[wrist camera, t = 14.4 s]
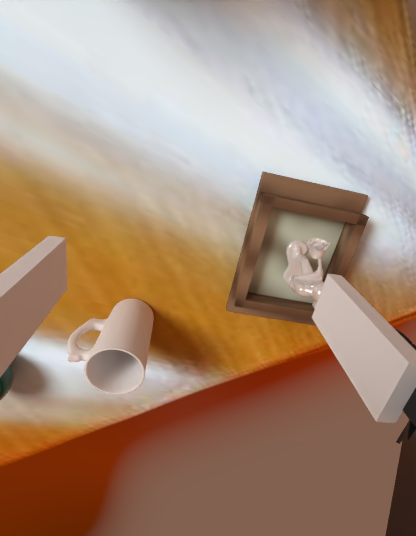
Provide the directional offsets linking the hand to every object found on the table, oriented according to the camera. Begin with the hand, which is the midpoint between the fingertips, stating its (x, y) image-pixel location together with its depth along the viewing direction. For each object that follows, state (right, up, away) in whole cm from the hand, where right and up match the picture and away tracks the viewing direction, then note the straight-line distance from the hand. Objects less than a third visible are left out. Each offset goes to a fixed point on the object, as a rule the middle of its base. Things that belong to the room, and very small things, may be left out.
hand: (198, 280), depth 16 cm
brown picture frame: (+12, +3, +28) cm, 31 cm away
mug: (-12, -6, +31) cm, 34 cm away
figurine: (+12, +2, +27) cm, 30 cm away
